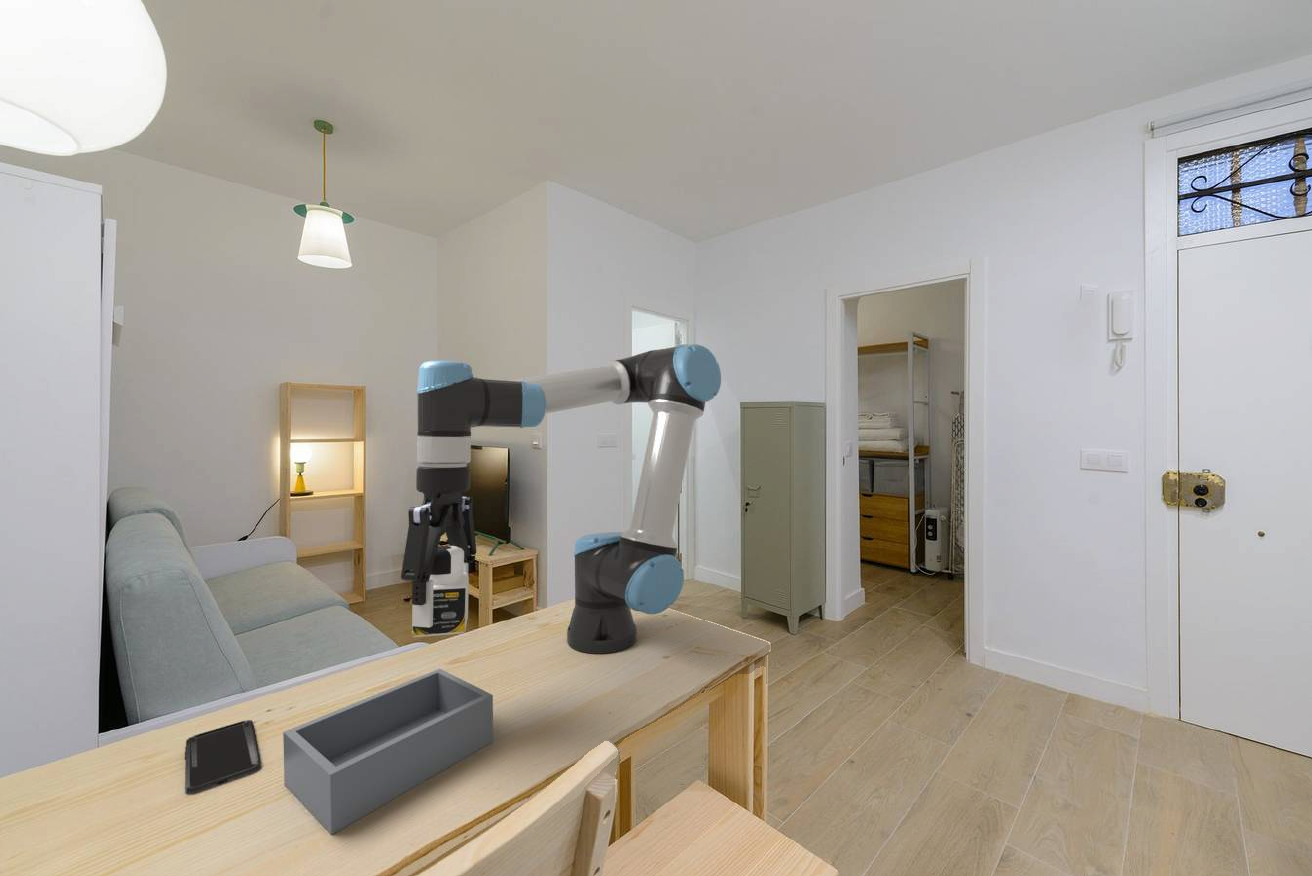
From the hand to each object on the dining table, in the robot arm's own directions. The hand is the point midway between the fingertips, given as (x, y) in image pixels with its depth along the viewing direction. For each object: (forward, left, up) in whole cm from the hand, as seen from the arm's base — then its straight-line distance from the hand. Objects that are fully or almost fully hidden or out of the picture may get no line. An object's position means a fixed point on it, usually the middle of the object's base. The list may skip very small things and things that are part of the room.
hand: (441, 614), depth 79 cm
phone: (+22, -20, -19) cm, 35 cm away
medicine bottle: (0, 0, -2) cm, 2 cm away
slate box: (+8, +1, -18) cm, 20 cm away
